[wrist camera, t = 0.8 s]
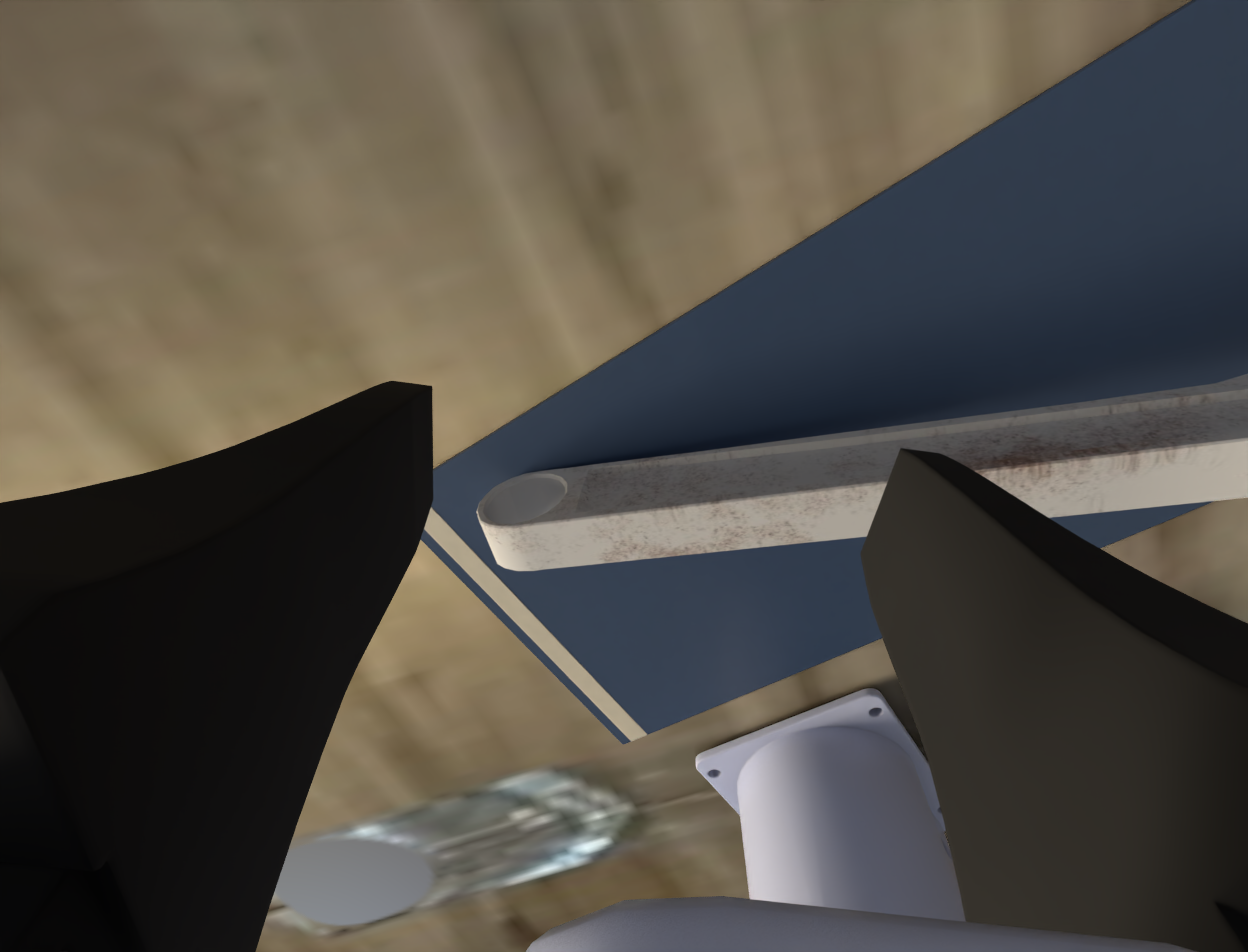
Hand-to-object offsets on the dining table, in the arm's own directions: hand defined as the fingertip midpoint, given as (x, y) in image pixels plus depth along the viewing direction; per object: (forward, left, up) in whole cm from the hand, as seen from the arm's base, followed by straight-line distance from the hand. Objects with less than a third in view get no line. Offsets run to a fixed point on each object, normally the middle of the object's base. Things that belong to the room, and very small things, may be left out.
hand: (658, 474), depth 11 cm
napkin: (-8, -6, -10) cm, 14 cm away
